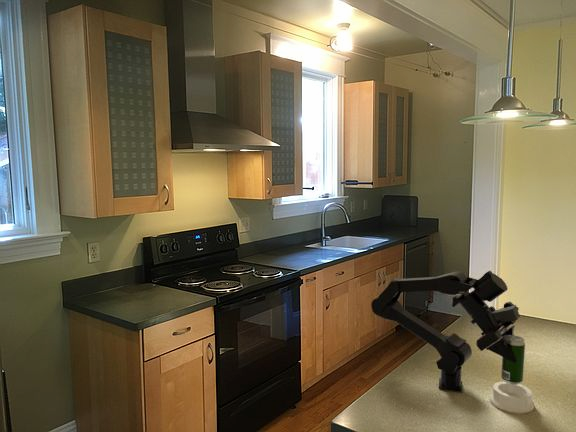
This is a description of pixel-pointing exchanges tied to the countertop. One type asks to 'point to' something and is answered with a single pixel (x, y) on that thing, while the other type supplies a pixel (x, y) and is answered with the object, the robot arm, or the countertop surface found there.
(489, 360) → the countertop surface
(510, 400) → the can holder
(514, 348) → the beer can
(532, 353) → the countertop surface
